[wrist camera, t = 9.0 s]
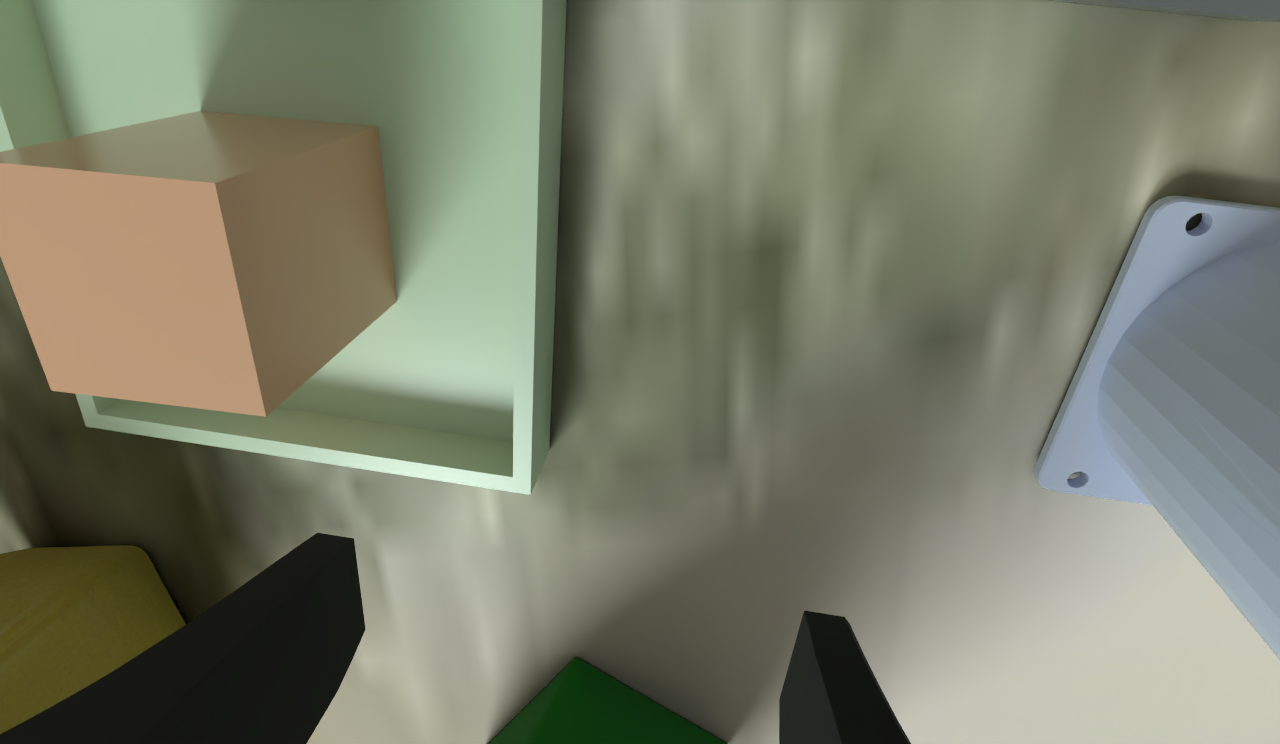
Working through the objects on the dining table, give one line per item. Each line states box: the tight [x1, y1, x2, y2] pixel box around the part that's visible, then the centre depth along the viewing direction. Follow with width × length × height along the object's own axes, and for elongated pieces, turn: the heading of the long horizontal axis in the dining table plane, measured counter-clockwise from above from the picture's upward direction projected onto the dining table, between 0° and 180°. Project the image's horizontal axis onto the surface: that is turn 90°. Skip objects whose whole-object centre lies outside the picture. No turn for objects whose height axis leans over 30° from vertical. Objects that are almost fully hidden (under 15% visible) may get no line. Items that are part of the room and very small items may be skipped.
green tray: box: [0, 0, 567, 495], centre depth 18 cm, size 13×13×2 cm
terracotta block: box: [0, 111, 397, 417], centre depth 16 cm, size 4×4×6 cm
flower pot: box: [0, 545, 186, 734], centre depth 23 cm, size 9×9×9 cm
